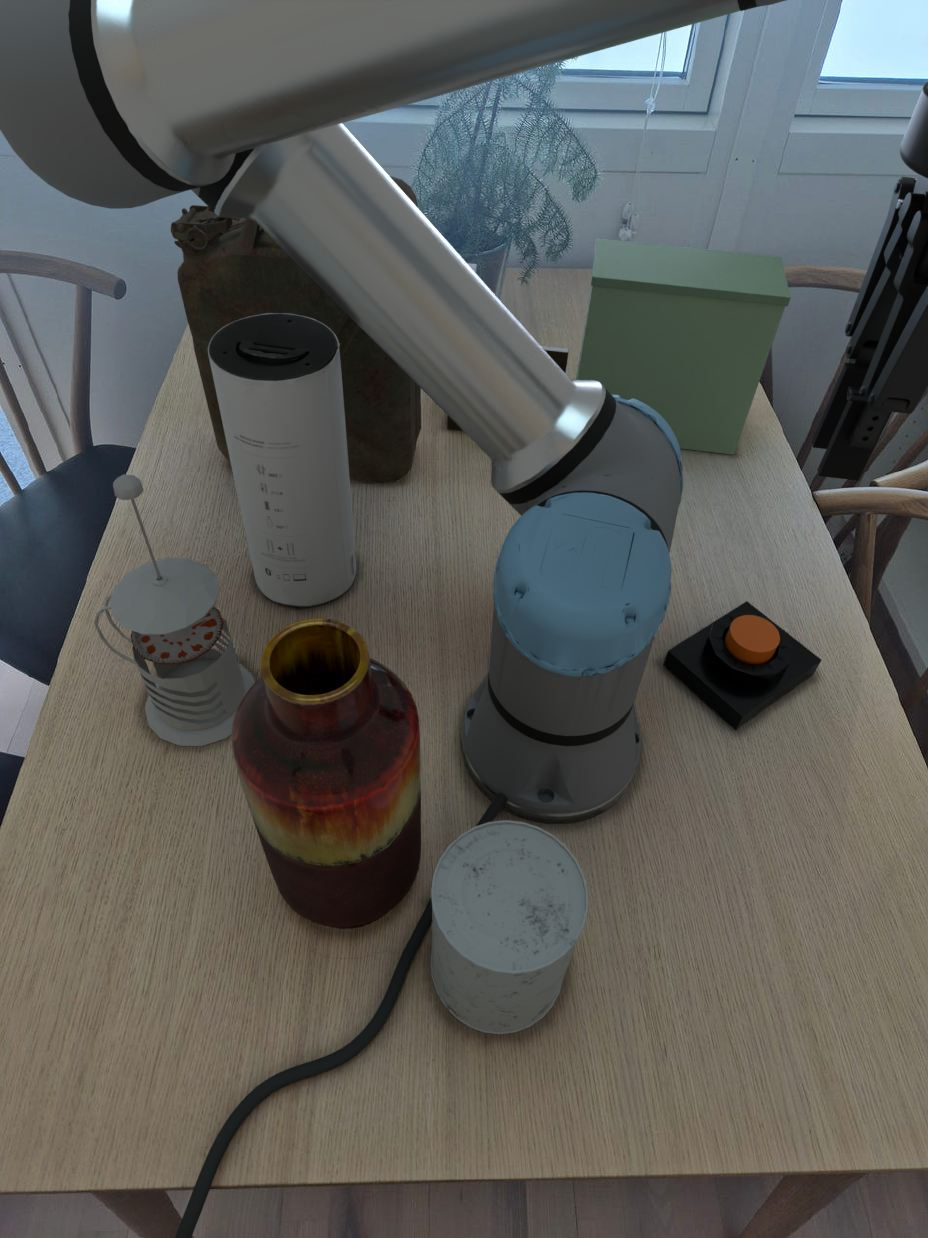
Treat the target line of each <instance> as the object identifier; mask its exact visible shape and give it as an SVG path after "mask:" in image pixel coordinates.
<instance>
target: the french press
mask: <svg viewBox="0 0 928 1238" xmlns="http://www.w3.org/2000/svg"><path fill="white" fill-rule="evenodd" d="M112 488H113V491H114V497H116V498H117V499H119V500H122V501H130V502H131V504H132V507H133V510H134V513H135V515H136V518H137V521H138V524H139V527H140V530H141V532H142V535H143V538H144V539H143V540H144V541H145V544H146V547H147V550H148V553H149V556H150V559H151V561H148V562H145V563H143V564H142V565H140V566H138V567H135V568H134V569H132V570H130V571H127V572H126V574H125V575H124V576H123V577H122V578H121V579H120V580H119V581H118V582H117V583H116V584H115V586H114V589H113V591H112V592H111V593H110V594H109V595H108V596H107V597H106V598H105V601H104V606H103V607H101V608H100V609H99V610H97V612H96V614H95V618H94V628H95V631H97V634H98V636H99V639H101V641H102V642H103V643H104V644H105V645H106V646H107V647H108V649H110V650H111V652H112V653H114V654H116V655H117V656H118V657H120V658H121V659H123V660H125V661H127V662H129V663H132V664H134V665H135V666H136V668H137V671H138V672H139V674H140V675H139V676H140V677H141V679H142V681H143V684H144V686H145V689H146V691H147V693H148V696H147V699H146V701H145V706H144V711H145V717H146V720H147V726H148V727H149V728H150V729H151V730H152V731H153V732H154V733H155V734H156V736H157V737H159V739H161V740H163V741H167V742H169V743H171V744H174V745H176V746H179V747H204V746H207V745H210V744H214V743H216V742H219V741H223V740H226V739H227V738H228V737H231V730H232V724H233V719H234V716H235V714H236V711H237V708H238V706H239V704H240V702H241V701H242V699H243V697H244V695H245V694H246V692H247V691H248V690H249V689H250V687H251V686H252V685H253V684H254V683H255V682H256V680H255V676H254V675H253V674H252V673H251V672H250V671H249V670H248V669H247V668H246V667H245V666H244V665H242V664H241V663H239V661H238V660H239V659H238V657H237V654H236V650H235V647H234V643H233V639H232V636H231V633H230V629H229V626H228V623H227V620H225V619H224V618H223V616H222V613H221V611H220V610H219V609H218V608H217V607H216V604H217V600H218V598H219V594H220V590H221V585H220V582H219V580H218V576H217V574H216V573H215V572H214V571H213V570H212V569H211V568H210V567H209V566H208V565H207V564H205V563H203V562H200V561H198V560H194V559H191V558H189V557H164V558H160V559H155V555H154V552H153V550H152V547H151V544H150V541H149V539H148V535H147V532H146V530H145V526H144V524H143V522H142V518H141V515H140V513H139V509H138V506H137V504H136V503H137V502H136V501H135V499H137V498H139V497H140V496H141V495H142V494H143V492H144V487H143V484H142V482H141V479H140V478H139V477H137V476H136V475H135V474H127V473H124V474H122V475H120V476H118V477H116V479H114V481H113V483H112ZM109 610H111V614H110V611H109ZM104 612H105V615H106V617H107V620H108V623H109V624H110V626H112V627H113V628H114V630H115V631H116V632H117V633H118V634H119V635H120V636H121V637H122V638H123V639H125V640H126V641H128V642H129V643H130V644H132V645H131V646H132V647H131V649H132V655H133V658H130V657H128V656H126V655H125V654H123V653H122V652H120V651H118V650H117V649H115V648H114V647H113V646H112V645H111V644H110V643H109V642H108V640H107V639H106V638H105V636H104V635H103V633H102V631H101V629H100V627H99V619H100V617H101V614H102V613H104ZM112 617H113V618H114V619H115V620H116V622H118V624H120V625H121V626H122V628H124V629H127V630H129V631H131V632H130V638H129V637H128V636H126V635H125V634H124V633H123V632H122V630H121V629H120V628H119V627H118V626H117V625H116V623H115V622H114V620H113V619H112ZM225 634H226V635H227V636H226V635H225ZM221 637H222V638H221ZM225 640H226V641H225ZM218 642H219V643H221V644H222V645H223V646H224V647H223V646H222V645H220V644H218ZM214 646H215V648H217V649H219V650H221V651H222V653H221V652H220V651H219V650H217V649H215V648H213V647H214ZM147 661H149V662H152V665H153V666H154V669H155V672H156V674H157V675H153V674H152V673H151V670H150V668H149V666H148V663H147Z"/></svg>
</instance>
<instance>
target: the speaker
mask: <svg viewBox="0 0 928 1238" xmlns="http://www.w3.org/2000/svg"><path fill="white" fill-rule="evenodd" d="M339 345H340V343H339V341H338V338H337V337H336V335H335V334H334V333H333V331H332V330H331V329H330V328H329V327H327V326H326V325H324V324H323V323H321V322H319V321H317V320H315V319H313V318H309V317H305V316H300V315H295V314H285V313H266V314H260V315H255V316H249V317H246V318H242V319H239V320H236V321H234V322H232V323H230V324H227V325H226V326H224V327H222V328H221V329H220V330H219V331H218V332H217V333H216V334H215V335H214V336H213V337H212V339H211V340H210V343H209V346H208V355H209V360H210V365H211V370H212V374H213V379H214V384H215V389H216V394H217V398H218V403H219V408H220V413H221V418H222V423H223V428H224V432H225V437H226V442H227V447H228V452H229V457H230V462H231V464H230V466H231V471H232V476H233V480H234V485H235V490H236V495H237V499H238V504H239V509H240V513H241V519H242V523H243V528H244V533H245V538H246V542H247V547H248V552H249V557H250V561H251V566H252V570H253V575H254V579H255V583H256V586H257V587H258V589H259V591H260V592H261V593H262V594H263V595H264V596H265V597H267V598H268V599H269V600H271V601H272V602H275V603H278V604H281V605H283V606H286V607H292V608H312V607H313V608H314V607H319V606H322V605H324V604H326V603H329V602H332V601H334V600H335V599H337V598H339V597H340V596H342V595H344V593H346V592H347V591H348V590H349V589H350V588H351V587H352V585H353V583H354V581H355V578H356V575H357V557H356V543H355V541H356V540H355V530H354V515H353V503H352V502H353V501H352V491H351V489H352V488H351V479H350V477H349V464H348V451H347V438H346V425H345V412H344V399H343V387H342V374H341V363H340V351H339Z"/></svg>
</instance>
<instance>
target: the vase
mask: <svg viewBox="0 0 928 1238" xmlns="http://www.w3.org/2000/svg"><path fill="white" fill-rule="evenodd" d="M259 665H260V677H259V678H258V679H257V680H255V683H254V684H253V685H252V686H251V687H250V689H249V690H248V691H247V692H246V694H245V695H244V697H243V699H242V701H241V702H240V704H239V706H238V708H237V711H236V714H235V716H234V719H233V724H232V730H231V735H230V737H231V738H230V740H231V742H230V743H231V744H230V745H231V750H232V756H233V761H234V763H235V767H236V771H237V775H238V778H239V781H240V784H241V787H242V790H243V793H244V796H245V799H246V803H247V805H248V809H249V812H250V814H251V818H252V820H253V823H254V827H255V829H256V833H257V835H258V839H259V841H260V844H261V847H262V850H263V853H264V856H265V858H266V859H265V860H266V862H267V865H268V867H269V871H270V874H271V875H272V878H273V880H274V883H275V884H276V887H277V890H278V892H279V894H280V896H281V897H282V900H284V902H285V904H287V905H288V907H290V909H292V911H293V912H295V913H296V914H298V915H299V916H300V917H301V918H303V919H305V920H307V921H309V922H311V923H313V924H316V925H320V926H323V927H328V928H332V929H337V930H338V929H339V930H352V929H358V928H362V927H367V926H368V925H371V924H373V923H375V922H377V921H379V920H381V918H383V917H385V916H386V915H387V914H388V913H390V912H391V911H392V910H394V909H395V908H396V907H397V906H398V905H399V904H400V903H401V902H402V901H403V900H404V899H405V897H406V896H407V895H408V893H409V892H410V890H411V888H412V887H413V885H414V883H415V881H416V878H417V875H418V873H419V870H420V863H421V855H422V775H421V774H422V772H421V771H422V770H421V768H422V766H421V728H420V718H419V712H418V707H417V705H416V701H415V699H414V695H413V694H412V692H411V690H410V689H409V687H408V686H407V685H406V683H405V682H404V681H403V680H402V679H401V677H399V676H398V674H397V673H396V672H394V671H393V670H392V669H391V668H389V667H388V666H386V665H385V664H383V663H382V662H380V661H378V660H376V659H375V658H371V655H370V650H369V647H368V644H367V642H366V640H365V639H364V637H363V636H362V635H361V634H360V633H359V631H358V630H356V629H355V628H354V627H353V626H350V625H349V624H346V623H344V622H341V621H339V620H336V619H330V618H309V619H305V620H300V621H297V622H295V623H291V624H289V625H287V626H286V627H284V628H282V629H281V630H279V631H278V632H277V633H275V635H273V636H272V637H271V638H270V639H269V641H268V642H267V643H266V644H265V646H264V649H263V650H262V653H261V657H260V663H259Z"/></svg>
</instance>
